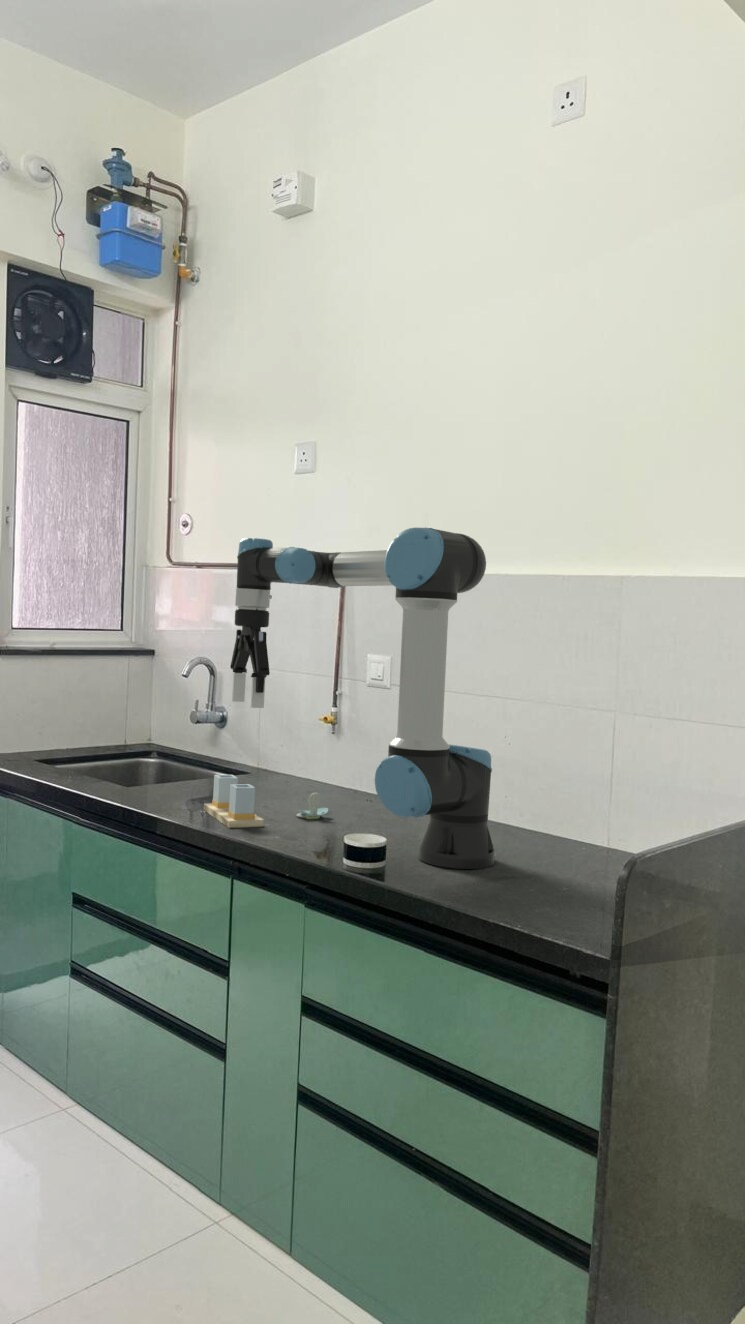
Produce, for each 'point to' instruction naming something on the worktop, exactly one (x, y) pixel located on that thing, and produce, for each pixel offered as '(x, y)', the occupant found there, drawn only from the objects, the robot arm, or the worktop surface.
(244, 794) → the sleeve
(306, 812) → the pacifier
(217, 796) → the sleeve
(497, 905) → the worktop surface
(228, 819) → the pin board
